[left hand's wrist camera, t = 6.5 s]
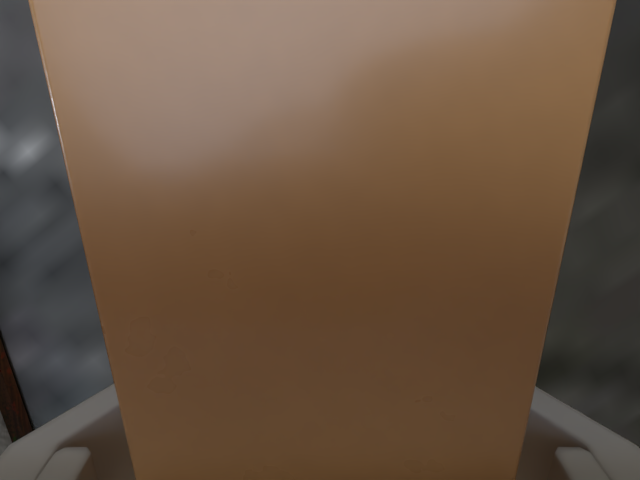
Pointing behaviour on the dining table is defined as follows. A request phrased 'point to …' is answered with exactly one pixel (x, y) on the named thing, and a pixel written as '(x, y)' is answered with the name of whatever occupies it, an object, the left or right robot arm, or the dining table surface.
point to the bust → (10, 406)
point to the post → (323, 222)
